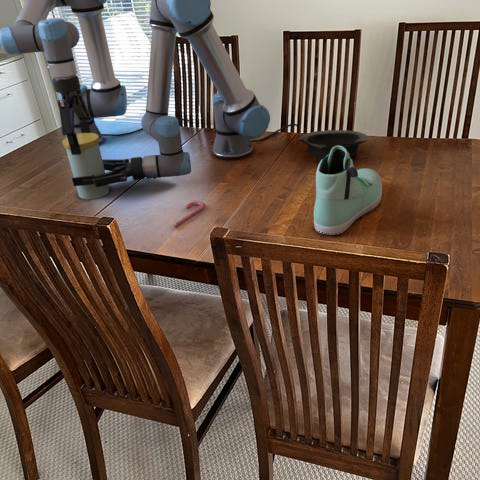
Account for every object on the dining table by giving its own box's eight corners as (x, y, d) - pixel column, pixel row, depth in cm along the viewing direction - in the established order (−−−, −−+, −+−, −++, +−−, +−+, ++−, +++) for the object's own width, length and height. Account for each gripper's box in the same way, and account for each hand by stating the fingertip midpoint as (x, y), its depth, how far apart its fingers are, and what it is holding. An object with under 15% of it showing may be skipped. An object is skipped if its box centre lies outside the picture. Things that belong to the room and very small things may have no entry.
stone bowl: (326, 174, 159) (325, 147, 154) (286, 157, 179) (284, 133, 175) (384, 156, 168) (385, 130, 163) (340, 142, 188) (339, 118, 184)
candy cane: (161, 224, 139) (160, 219, 138) (194, 202, 149) (194, 198, 148) (177, 229, 135) (176, 224, 135) (209, 207, 145) (209, 202, 145)
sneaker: (389, 187, 148) (396, 123, 138) (356, 242, 123) (361, 168, 112) (346, 181, 154) (350, 119, 144) (306, 232, 129) (307, 161, 118)
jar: (115, 190, 161) (103, 138, 151) (89, 202, 155) (74, 148, 145) (98, 183, 167) (86, 132, 157) (72, 194, 161) (58, 141, 151)
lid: (106, 141, 152) (105, 136, 151) (75, 152, 145) (73, 147, 144) (87, 135, 159) (86, 130, 158) (56, 145, 152) (55, 140, 151)
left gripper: (66, 68, 152) (82, 135, 163) (36, 87, 132) (57, 162, 143) (89, 67, 151) (104, 134, 162) (63, 85, 131) (82, 160, 142)
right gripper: (144, 192, 151) (72, 200, 149) (147, 165, 170) (84, 172, 169) (139, 170, 147) (66, 178, 146) (144, 145, 166) (79, 152, 165)
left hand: (82, 147), depth 153 cm, fingers closed on lid, 11 cm apart
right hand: (76, 175), depth 157 cm, fingers closed on jar, 10 cm apart
